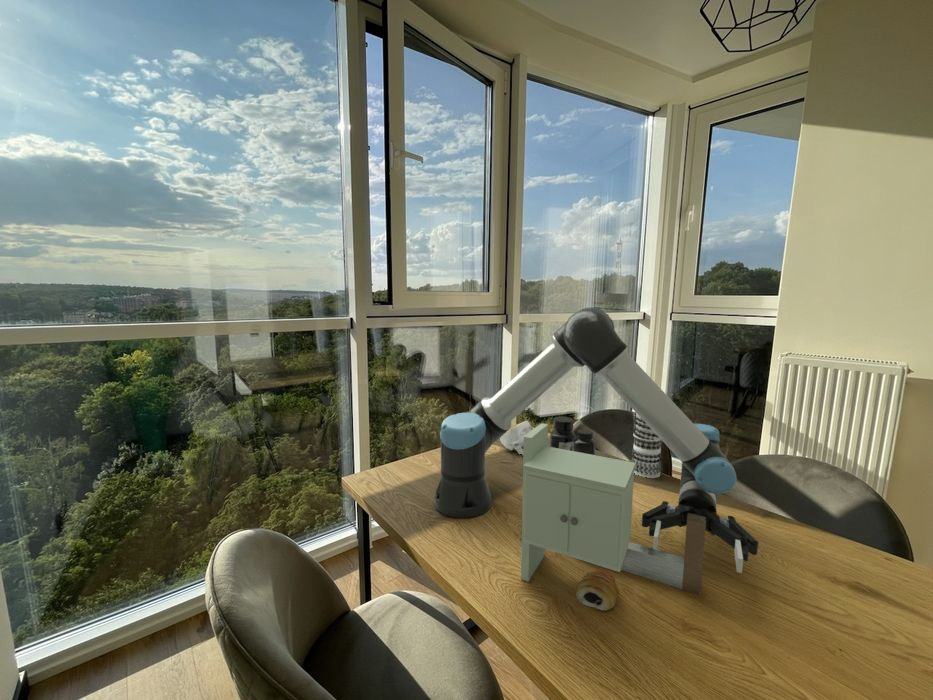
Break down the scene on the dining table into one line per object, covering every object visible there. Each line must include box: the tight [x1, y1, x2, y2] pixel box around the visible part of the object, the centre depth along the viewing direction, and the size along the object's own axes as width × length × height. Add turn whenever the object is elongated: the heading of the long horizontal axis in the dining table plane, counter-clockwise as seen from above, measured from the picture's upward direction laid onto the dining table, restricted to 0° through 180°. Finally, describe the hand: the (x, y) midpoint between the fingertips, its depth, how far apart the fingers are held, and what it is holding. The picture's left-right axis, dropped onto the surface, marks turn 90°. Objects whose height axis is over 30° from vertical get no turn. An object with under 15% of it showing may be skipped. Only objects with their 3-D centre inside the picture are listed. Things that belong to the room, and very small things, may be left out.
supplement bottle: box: [573, 429, 597, 455], centre depth 133 cm, size 7×7×12 cm
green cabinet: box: [520, 422, 636, 583], centre depth 76 cm, size 19×14×29 cm
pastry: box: [575, 569, 618, 612], centre depth 77 cm, size 9×7×4 cm
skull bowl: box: [499, 420, 534, 456], centre depth 148 cm, size 10×14×12 cm
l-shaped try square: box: [620, 513, 706, 596], centre depth 83 cm, size 24×3×14 cm, turn 60°
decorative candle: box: [631, 411, 663, 479], centre depth 128 cm, size 9×9×25 cm
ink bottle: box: [549, 416, 577, 451], centre depth 146 cm, size 10×9×12 cm
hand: (695, 554), depth 76 cm, fingers open, 13 cm apart
